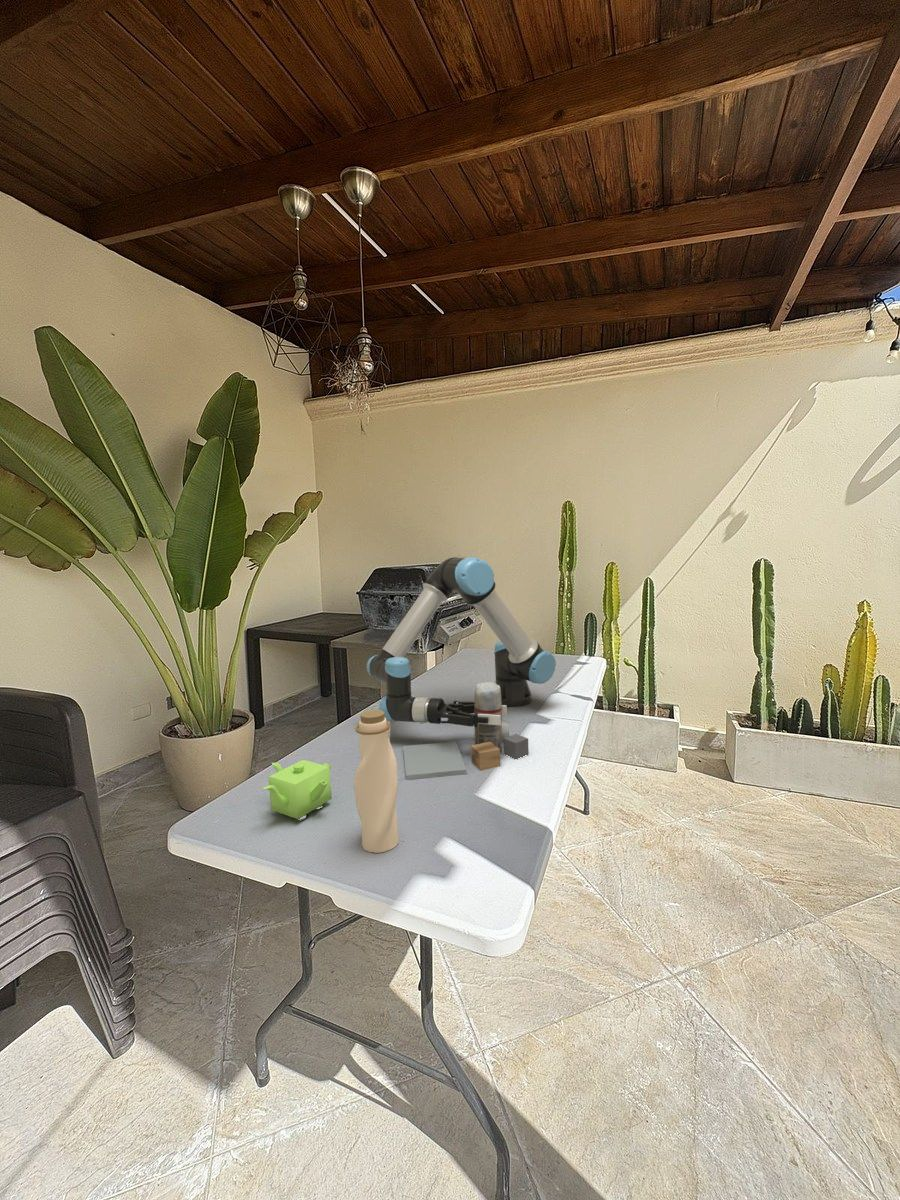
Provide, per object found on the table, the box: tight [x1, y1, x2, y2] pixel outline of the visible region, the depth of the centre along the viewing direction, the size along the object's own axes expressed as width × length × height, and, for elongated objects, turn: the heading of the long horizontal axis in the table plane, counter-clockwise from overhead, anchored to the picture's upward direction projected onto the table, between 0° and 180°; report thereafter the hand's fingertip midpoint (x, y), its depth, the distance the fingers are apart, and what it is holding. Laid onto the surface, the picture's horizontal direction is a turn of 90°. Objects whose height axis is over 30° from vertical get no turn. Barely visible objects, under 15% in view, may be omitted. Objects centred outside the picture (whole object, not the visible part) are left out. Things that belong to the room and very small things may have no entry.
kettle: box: [262, 759, 333, 820], centre depth 126 cm, size 15×14×11 cm
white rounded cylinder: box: [501, 719, 510, 743], centre depth 165 cm, size 6×6×5 cm
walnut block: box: [470, 742, 502, 771], centre depth 147 cm, size 6×6×5 cm
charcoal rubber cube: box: [502, 733, 530, 760], centre depth 153 cm, size 5×5×5 cm
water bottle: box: [353, 709, 400, 854], centre depth 111 cm, size 10×9×28 cm
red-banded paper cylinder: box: [473, 680, 503, 752], centre depth 156 cm, size 8×8×20 cm
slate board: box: [402, 741, 467, 781], centre depth 151 cm, size 20×16×1 cm
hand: (503, 715), depth 154 cm, fingers closed on red-banded paper cylinder, 8 cm apart
